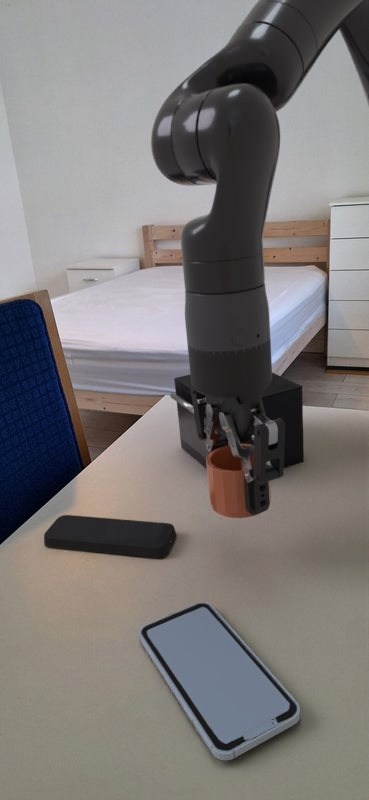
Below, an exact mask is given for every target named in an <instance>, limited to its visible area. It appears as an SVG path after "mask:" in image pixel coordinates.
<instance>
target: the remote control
mask: <svg viewBox="0 0 369 800" xmlns="http://www.w3.org/2000/svg"><path fill="white" fill-rule="evenodd" d="M177 535H178V534H177V532H176V529H175V525H173V523H169V522H157V521H147V520H146V521H145V520H134V519H121V518H111V517H110V518H109V517H98V516H85V515H73V514H63V515H60V516H58V518H55V520H54V521H53V522H52V524H51V525H50V526H49V528H48V529H47V530H46V531H45V532H44V534H43V545H44V547H47V548H52V549H64V550H70V551H71V550H72V551H83V552H91V553H101V554H113V555H123V556H132V557H142V558H151V559H163V558H165V557H167V556H168V555H169V553H170V551H171V549H172V547H173V545H174V543H175V541H176V539H177Z"/></svg>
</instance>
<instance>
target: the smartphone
mask: <svg viewBox="0 0 369 800" xmlns="http://www.w3.org/2000/svg"><path fill="white" fill-rule="evenodd" d="M138 636H139V641H140V643H141V644H142V646H143V648H144V649H145V651H146V653H147V654H148V656H149V657H150V659H151V660H152V661H153V663H154V665H155V666H156V668H157V669H158V671H159V672H160V675H162V677H163V679H164V680H165V682H166V683H167V685H168V686H169V688H170V690H171V691H172V693H173V695H174V696H175V698H176V699H177V701H178V702H179V704H180V705H181V707H182V708H183V710H184V711H185V713H186V715H187V717H188V718H189V719H190V721H191V722H192V724H193V725H194V727H195V729H196V730H197V731H198V733H199V735H200V736H201V738H202V740H203V742H204V743H205V744H206V746H207V747H208V749H209V750H210V752H211V754H212V755H213V756H214V757H215V758H216V759H218V760H220V761H231V760H233V759H235V758H237V757H239V756H241V755H242V754H244V753H246V752H248V751H251V749H253V748H255V747H257V746H259V745H260V744H262V743H264V742H266V741H268V740H270V739H271V738H273V737H275V736H277V735H278V734H280V733H283V732H284V731H286V730H288V729H289V728H291V727H293V726H294V725H296V724H297V723H298V722H299V721H300V718H301V708H300V704H299V702H297V700H296V699H295V698H294V696H292V694H291V693H290V692H289V691H288V690H287V689H286V688H285V686H284V685H283V684H282V683H281V682H280V681H279V680H278V678H277V677H276V676H275V675H274V673H272V671H270V669H269V668H268V667H267V666H266V665H265V664H264V663H263V662H262V660H261V659H260V658H259V657H258V656H257V655H256V654H255V652H253V650H252V649H251V648H250V647H249V645H247V644H246V642H245V641H244V640H243V639H242V638H241V637H240V636H239V634H238V633H237V632H236V631H235V629H233V627H232V626H231V625H230V624H229V622H228V621H226V619H224V617H223V616H222V615H221V614H220V612H219V611H218V610H217V609H216V608H215V607H214V606H213V605H212V604H211V603H209V602H207V601H199V602H196V603H193V604H191V605H188V606H186V607H184V608H182V609H179V610H177V611H175V612H172V613H170V614H167V615H165V616H163V617H161V618H158V619H155V620H153V621H151V622H148V623H146V624H144V625H142V626H141V627H140V629H139V631H138Z"/></svg>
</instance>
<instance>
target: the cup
mask: <svg viewBox="0 0 369 800" xmlns="http://www.w3.org/2000/svg"><path fill="white" fill-rule="evenodd" d="M241 446H242V447H243V448H246V447H249V446H252V445H251V444H241ZM249 459H250V463H251V466H252V468H253V467H254V454H252V455H250V457H249ZM206 464H207V469H206V473H207V485H208V493H209V494H208V495H209V503H210V508H212V510H213V511H214V512H215V513H216V514H218V515H220V516H223V517H226V518H231V519H247V518H252V517H256V516H258V515H261V514H262V513H263V512H261V513H258V514H256V515H251V514H250V513H249V512H248V511H247V510H246V501H245V487H244V479H245V478H244V475H243V471H242V468H241V464H240V461H239V460H238V459H236V458H234V457H233V455H232V451H231V448H230V445H225V446H222V447H219V448H216V449H215V450H213V451H212V452H210V453H209V455H208V456H207V458H206ZM269 500H270V505H269V507H270V506H271V503H272V480H271V481H269Z"/></svg>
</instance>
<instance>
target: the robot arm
mask: <svg viewBox="0 0 369 800" xmlns="http://www.w3.org/2000/svg"><path fill="white" fill-rule="evenodd" d="M338 31H339V33H340V36H341V37H342V39H343V42H344V44H345V46H346V49H347V51H348V53H349V55H350V59H351V61H352V64H353V66H354V69H355V72H356V74H357V77H358V80H359V82H360V85H361V88H362V91H363V93H364V96H365V100H366V103H367V106H368V107H369V0H257V2H256V3H255V4H254V5H253V7H252V8H251V10H250V11H249V13H248V14H247V15H246V16H245V18H244V19H243V20H242V22H241V23H240V24H239V26H238V27H237V28H236V30H235V31H234V33H233V34H232V36H231V37H230V39H229V40H228V42H227V43H226V44H225V46H223V47H222V48H221V49H220V50H219V51H218V52H216V53H215V54H214V55H212V56H211V57H210V58H208V59H207V60H206V61H204V62H203V63H202V64H201V65H200V66H199V67H198V68H197V69H195V70H194V71H193V72H192V73H191V74H190V75H188V77H186V78H185V79H184V80H183V81H182V82H180V84H178V85H177V86H176V87H175V89H173V91H172V92H171V93H169V95H168V96H167V97H166V99H165V100H164V101H163V103H162V105H161V107H160V108H159V110H158V112H157V113H156V116H155V119H154V122H153V124H152V129H151V136H150V148H151V149H150V150H151V155H152V159H153V162H154V163H155V166H156V167H157V169H158V171H159V172H160V173H161V175H162V176H163V177H165V178H166V179H167V180H169V181H170V182H172V183H174V184H176V185H179V186H187V187H197V186H209V185H211V186H212V185H215V191H214V195H213V200H212V204H211V208H210V211H209V213H207V214H204V215H200V216H197V217H195V218H192V219H190V220H189V221H187V222H186V223H185V224H184V226H183V227H182V229H181V234H180V252H181V253H180V254H181V260H182V272H183V283H184V322H185V323H184V325H185V330H186V331H185V333H186V341H187V342H186V343H187V354H188V362H189V363H188V364H189V372H190V374H191V383H192V386H191V396H192V402H193V409H194V415H195V422H196V428H197V435H198V438H199V439H200V440H204V439H205V440H206V442H205V444H206V448H207V450H208V451H209V452H212V451H213V450H215V449H216V448H219V447H222V446H225V445H230V448H231V451H232V455H233V457H234V458H236V459H238V460H239V461H240V464H241V468H242V471H243V475H244V478H245V479H244V487H245V501H246V510H247V511H248V512H249V513H250V514H251V515H255V516H257V515H256V514H258V513H260V514H262V513H264V512H266V511H268V510H269V508H270V506H271V503H270V500H269V481H271V482H272V481H274V480H277V479H279V478H282V477H283V476H284V472H285V471H284V470H285V468H284V450H285V423H284V421H283V420H282V419H281V418H279V419H276V420H273V421H271V420H270V419H269V418H267V417H266V416H265V410H264V407H263V404H262V399H261V394H262V392H263V390H264V389H265V388H266V387H267V386H268V385H269V384H270V382H271V380H272V373H273V363H272V362H273V361H272V343H271V341H272V339H271V321H270V320H271V319H270V306H269V300H268V296H267V289H266V283H265V282H266V277H265V275H266V274H265V254H264V232H265V231H264V230H265V226H266V221H267V216H268V211H269V205H270V202H271V201H270V200H271V194H272V190H273V185H274V180H275V176H276V171H277V167H278V162H279V157H280V151H281V150H280V149H281V126H280V121H279V116H278V113H277V112H280V110H282V109H283V108H284V107H286V106H287V104H288V103H289V102H290V101H291V100H292V98H293V97H294V96H295V95H296V93H297V91H298V90H299V88H300V87H301V85H302V84H303V82H304V81H305V79H306V78H307V76H308V75H309V73H310V72H311V70H312V69H313V67H314V65H315V64H316V62H317V61H318V59H319V57H320V56H321V55H322V53H323V52H324V50H326V48H327V46H328V44H329V43H330V42H331V40H332V39H333V38H334V36H335V35H336V34H337V33H338ZM190 374H189V375H190ZM205 417H206V422H205V424H204V418H205ZM250 440H253V441H254V445H252V446H249V447H246V448H243V447H242V446H241V444H240V443H244V442H247V441H250ZM252 454H254V467H253V468H252V466H251V463H250V459H249V457H250V455H252ZM271 460H272V465H271V463H270V461H271ZM269 505H270V506H269ZM261 512H262V513H261ZM258 515H259V514H258Z"/></svg>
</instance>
